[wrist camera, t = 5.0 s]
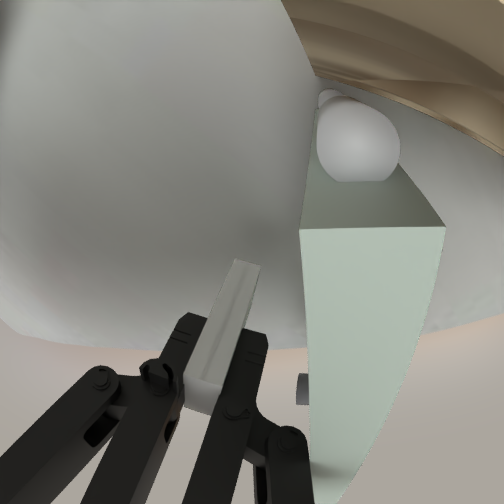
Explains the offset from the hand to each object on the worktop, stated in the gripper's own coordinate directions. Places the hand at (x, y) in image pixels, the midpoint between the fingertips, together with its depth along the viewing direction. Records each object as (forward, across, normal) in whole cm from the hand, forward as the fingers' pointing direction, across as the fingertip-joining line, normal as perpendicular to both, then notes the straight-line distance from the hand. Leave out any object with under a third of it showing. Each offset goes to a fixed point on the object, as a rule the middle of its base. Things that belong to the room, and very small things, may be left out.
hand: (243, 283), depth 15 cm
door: (+5, +4, +1) cm, 6 cm away
